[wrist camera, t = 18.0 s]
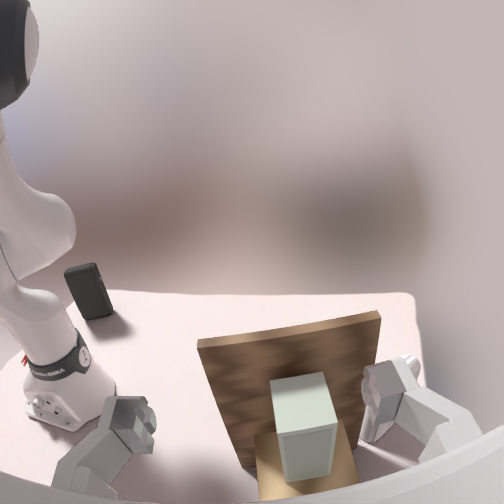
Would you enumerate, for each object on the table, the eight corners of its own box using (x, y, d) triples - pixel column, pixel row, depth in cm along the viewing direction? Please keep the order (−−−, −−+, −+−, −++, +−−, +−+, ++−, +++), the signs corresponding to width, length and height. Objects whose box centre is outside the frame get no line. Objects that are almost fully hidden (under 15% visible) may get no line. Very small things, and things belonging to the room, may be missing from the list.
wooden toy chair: (246, 526, 31) (189, 443, 19) (241, 461, 41) (197, 339, 29) (372, 503, 31) (427, 398, 19) (354, 442, 41) (376, 310, 29)
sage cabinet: (285, 483, 28) (277, 434, 23) (279, 440, 34) (269, 380, 28) (330, 475, 28) (338, 422, 23) (320, 433, 34) (322, 371, 28)
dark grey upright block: (115, 307, 82) (96, 259, 76) (113, 316, 79) (93, 266, 72) (86, 313, 81) (66, 267, 74) (83, 321, 78) (62, 274, 71)
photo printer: (391, 394, 47) (404, 343, 42) (410, 406, 44) (428, 355, 38) (351, 433, 42) (360, 386, 37) (372, 447, 39) (386, 402, 33)
